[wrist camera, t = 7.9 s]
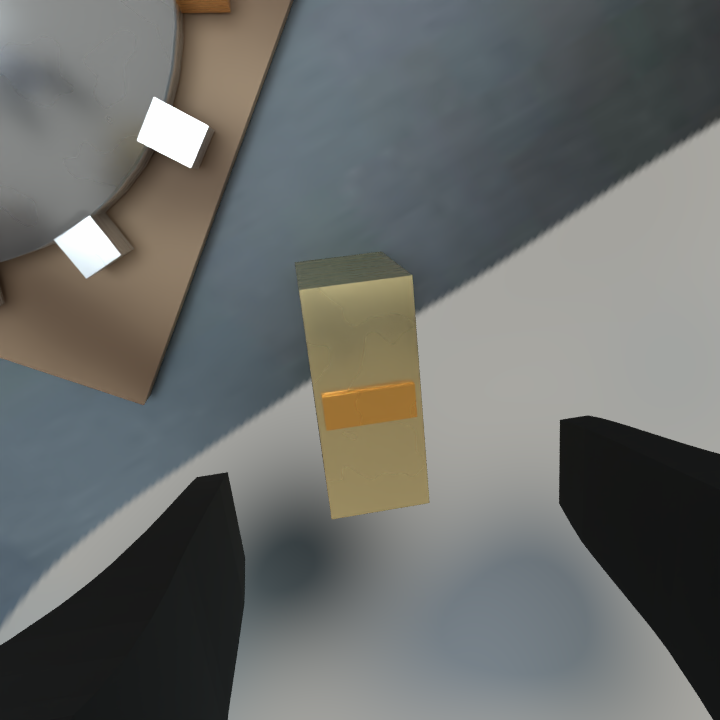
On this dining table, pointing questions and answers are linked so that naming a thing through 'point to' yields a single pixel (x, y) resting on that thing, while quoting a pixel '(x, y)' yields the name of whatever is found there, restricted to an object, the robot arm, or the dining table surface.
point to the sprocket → (87, 117)
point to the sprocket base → (146, 226)
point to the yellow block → (365, 381)
